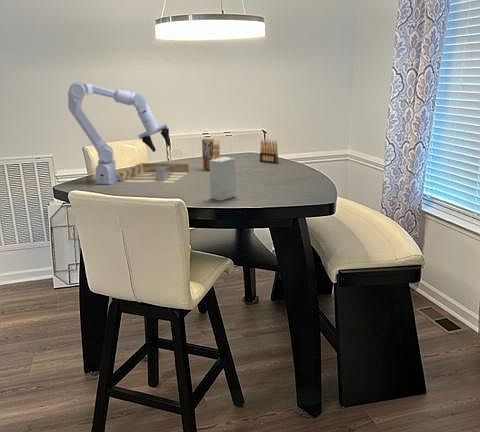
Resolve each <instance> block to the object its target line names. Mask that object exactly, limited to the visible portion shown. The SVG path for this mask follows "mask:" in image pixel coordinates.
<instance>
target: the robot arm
mask: <svg viewBox="0 0 480 432" xmlns="http://www.w3.org/2000/svg"><path fill="white" fill-rule="evenodd" d="M93 94H95V95H99V96H104V97H108V98H112V99H113V100H114V102H116V103H119V104H122V105H126V106H133V107H135V110H136V112H137V115H138V117H139V119H140V121H141V123H142V126H143V127H144V129H145V131H144V132H142V133H139V134H138V138H139V140H141V141H142V143H144V144H145V145H147V147H148V148H149V149H150V150H151V151H152V152H153V153H154V152H155V153H156V150H157V149H156V146H155V145H154V143H153V139H152V137H151V136H152V135H155V134H157V133H160V134H161V136H162V137H163V139H164V141H165V144H166V145H167V147H170V146H171V140H170V132H169V131H170V129H169V128H170V125H169V123H164V124H162V125H158V122H157V121H156V118H155V116H154V115H153V114H154V113H153V112H152V111H151V108H150V107H149V104H148V103H147V98H146V97H145V96H144V95H142V94H141V93H136V91H128V90H125V88H122V87H121V88H117V89H115V90H112V89H109V88H107V87H103V86H99V85H96V84H92V83H82V82H80V81H79V82H73V83H71V85H70V87H69V89H68V93H67V96H68V97H67V98H68V99H67V100H68V101H67V103H68V106H67V107H68V111H70V113H71V115H72V116H73V118H74V119H75V120H76V122H77V123H78V125H79V126H80V128H81V129H82V131H83V132H84V133H85V135H86V136H87V138H88V139H89V141H90V142H91V144H92V145H93V147H94V149H95V150H96V152H97V156H98V159H99V160H98V161H97V166H96V167H95V170H94V171H95V172H94V173H95V179H96V181H95V182H94V184H95V185H112V184H115V183H116V182H119V181H120V178H118V177H117V171H116V170H117V169H116V167H117V166H116V160H115V159H114V150H113V148H112V147H111V146H110V145H108V144H107V143H106V141H105V140H104V139H103V138H102V136H101V135H100V133H99V132H98V131H97V129H96V128H95V126H94V125H93V123H92V121H90V119H89V117H88V116H87V114H86V113H85V111H84V110H83V108H82V103H83V99H84V97H85V96H86V95H87V96H89V95H93Z"/></svg>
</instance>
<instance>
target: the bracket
mask: <svg viewBox="0 0 480 432" xmlns="http://www.w3.org/2000/svg"><path fill="white" fill-rule="evenodd" d="M169 178H170V170H169V167H156V179H158V181H163V182H164V181H166V180H167V179H169Z"/></svg>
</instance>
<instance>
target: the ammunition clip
mask: <svg viewBox="0 0 480 432" xmlns="http://www.w3.org/2000/svg"><path fill="white" fill-rule="evenodd" d="M259 163H263V164H273V165H278V164H279V153H278V142H277V140H276V139H275V140H274V139H272V141H271V139H269V140H268V139H260V152H259Z"/></svg>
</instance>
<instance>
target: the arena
mask: <svg viewBox="0 0 480 432" xmlns="http://www.w3.org/2000/svg"><path fill="white" fill-rule="evenodd" d="M156 167H169V170H170V178H169V179H167V180H166V181H164V182H163V181H158V179H156ZM189 173H190V163H180V162H179V163H175V162H174V163H173V162H172V163H170V162H169V163H168V162H167V163H165V162H163V163H162V162H161V163H160V162H157V163H156V162H155V163H154V162H140V163H138V164H135V165H133V166H131V167H128V168H127V169H124V170H122V171H120V172H119V179H120V180H119V182H120V183H166V184H169V183H170V184H171V183H172V184H173V183H175V182H177V181H178V180H180V179H181V178H182V177H185V176H186V175H187V174H189Z"/></svg>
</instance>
